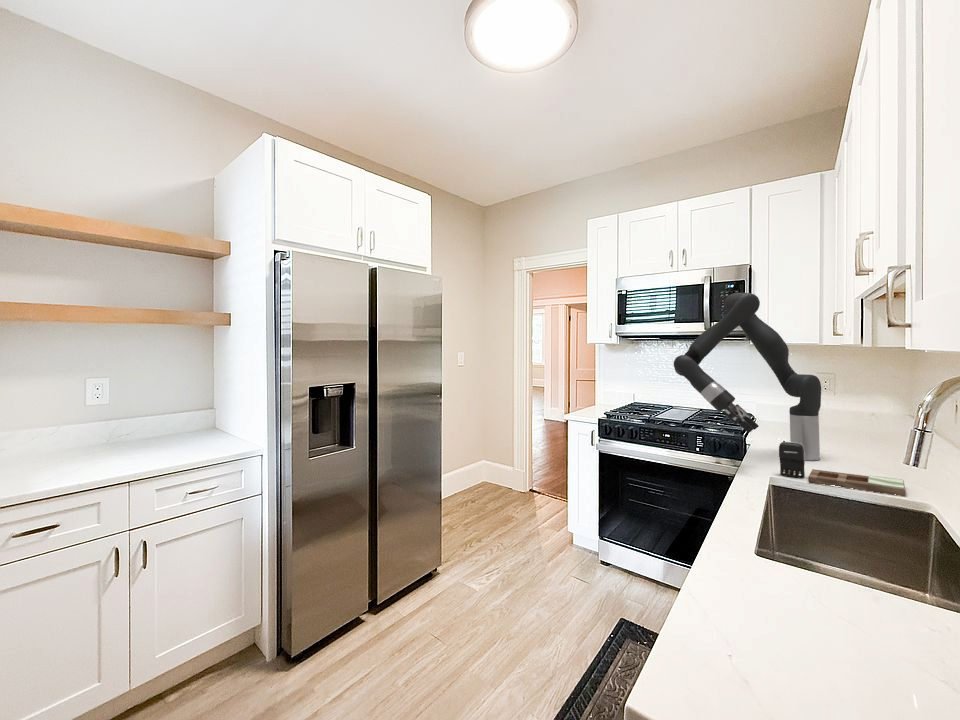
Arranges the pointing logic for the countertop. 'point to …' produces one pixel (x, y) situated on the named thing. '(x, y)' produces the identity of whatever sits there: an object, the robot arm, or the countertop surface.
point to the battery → (792, 459)
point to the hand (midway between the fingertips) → (753, 429)
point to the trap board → (858, 482)
